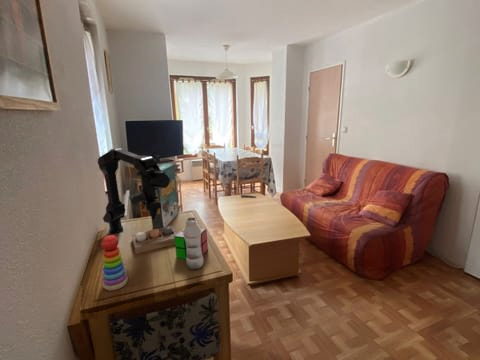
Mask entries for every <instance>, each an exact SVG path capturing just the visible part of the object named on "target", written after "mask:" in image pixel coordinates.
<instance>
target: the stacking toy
mask: <svg viewBox="0 0 480 360" xmlns="http://www.w3.org/2000/svg"><path fill="white" fill-rule="evenodd" d="M118 245H119V239H118V237H117V236H116V235H112V234H108V235H105V236H104V237H103V239H102V241H101V247H102V248H103V249H104V250H103V252H102V254H103V255H102V256H103V257H102V259H103V268H102V271H103V273H102V276H103V277H102V282H103V283H102V287H103V288H104V290H106V291H116V290H119V289H121V288H123V287H124V286H125V285H126V284H127V283H128V281H129V279H128V278H129V277H128V276H127V272H126V267H125V266H124V262H123V258H122V254H121V253H120V248H119V247H118Z"/></svg>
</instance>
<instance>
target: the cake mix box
mask: <svg viewBox="0 0 480 360" xmlns="http://www.w3.org/2000/svg"><path fill="white" fill-rule="evenodd" d="M158 167H159V168H160V170H161V171H160V172H165V175H167V176H168V177H169V179H170V183H169V185H168V187H166V188H160V187H156V189H157V190H156V195H157V197H158V199H155V200H158V201H160V203H161V207H162V208H159V209H158V211H157V214H156V217H155V219H153V220H152V219H151V224H152V225H151V226H152V229H159V228H164V227H166V226H169V224H170V223H171V222H172V221H173V220H174V218H175V217H176V216H177V215H179V213H180V210H179V200H178V190H177V180H176V171H175V169H176V168H175V163H164V164H162V165H161V164H160V166H159V165H158Z"/></svg>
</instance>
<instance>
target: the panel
mask: <svg viewBox="0 0 480 360" xmlns="http://www.w3.org/2000/svg"><path fill="white" fill-rule="evenodd" d="M170 226H171V227H172V232H173V234H171V235H166V236H164V234H163V228H159V233H160V237H158V238H154V239H151V238H150V231H151V230H152V229H150V230H147V231H144V232H145V233H146V239H147V240H145V241H141V242H137V239H136V234H137V233H133V234H131V237H132V243H133V248H134V251H135V254H136V255H138V254H141V253H145V252H149V251H153V250H157V249H161V248H165V247H168V246H172V245H175V239H174V236H175V235H177V234H178V233H177V232H176V229H175V228H174V227H173V225H170Z"/></svg>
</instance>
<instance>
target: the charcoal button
mask: <svg viewBox="0 0 480 360" xmlns="http://www.w3.org/2000/svg"><path fill="white" fill-rule="evenodd" d="M171 226H172V225H167V226H166V227H164V228H163V234H164V236H166V235H171V234H173V232H172V227H173V226H172V227H171Z"/></svg>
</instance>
